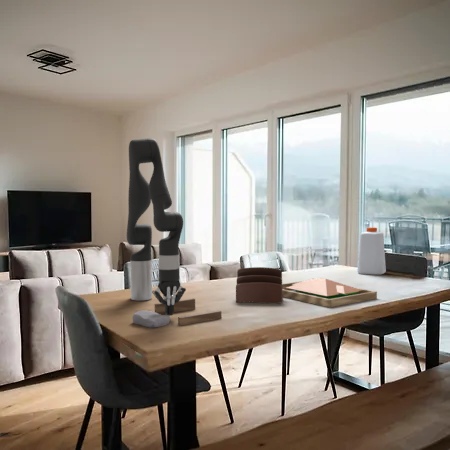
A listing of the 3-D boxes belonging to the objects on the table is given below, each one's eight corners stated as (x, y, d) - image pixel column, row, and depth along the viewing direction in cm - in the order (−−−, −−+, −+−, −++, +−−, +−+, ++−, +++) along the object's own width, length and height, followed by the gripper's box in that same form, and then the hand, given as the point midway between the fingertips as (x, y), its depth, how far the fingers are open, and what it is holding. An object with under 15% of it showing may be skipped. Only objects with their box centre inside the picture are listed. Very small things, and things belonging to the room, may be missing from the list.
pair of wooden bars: (154, 314, 168) (154, 303, 168) (193, 308, 177) (193, 298, 177) (180, 325, 151) (180, 313, 151) (221, 318, 161) (221, 307, 161)
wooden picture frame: (265, 292, 210) (265, 286, 210) (310, 285, 228) (310, 280, 228) (329, 307, 177) (329, 299, 177) (376, 298, 195) (376, 291, 195)
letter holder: (237, 298, 198) (237, 266, 198) (282, 298, 196) (282, 267, 196) (235, 302, 188) (235, 269, 188) (282, 303, 186) (282, 270, 186)
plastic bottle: (381, 275, 261) (381, 228, 260) (355, 273, 269) (355, 227, 268) (387, 272, 274) (387, 227, 273) (362, 270, 282) (362, 227, 281)
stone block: (151, 323, 162) (129, 323, 155) (153, 310, 162) (131, 309, 155) (173, 330, 154) (151, 330, 147) (175, 316, 155) (153, 315, 147)
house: (332, 304, 184) (332, 285, 184) (279, 293, 211) (279, 276, 211) (367, 298, 197) (367, 280, 197) (313, 288, 224) (313, 272, 224)
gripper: (180, 264, 166) (180, 310, 167) (147, 267, 159) (148, 315, 160) (190, 267, 160) (190, 314, 161) (156, 269, 153) (157, 319, 153)
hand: (169, 314), depth 160 cm, fingers closed
